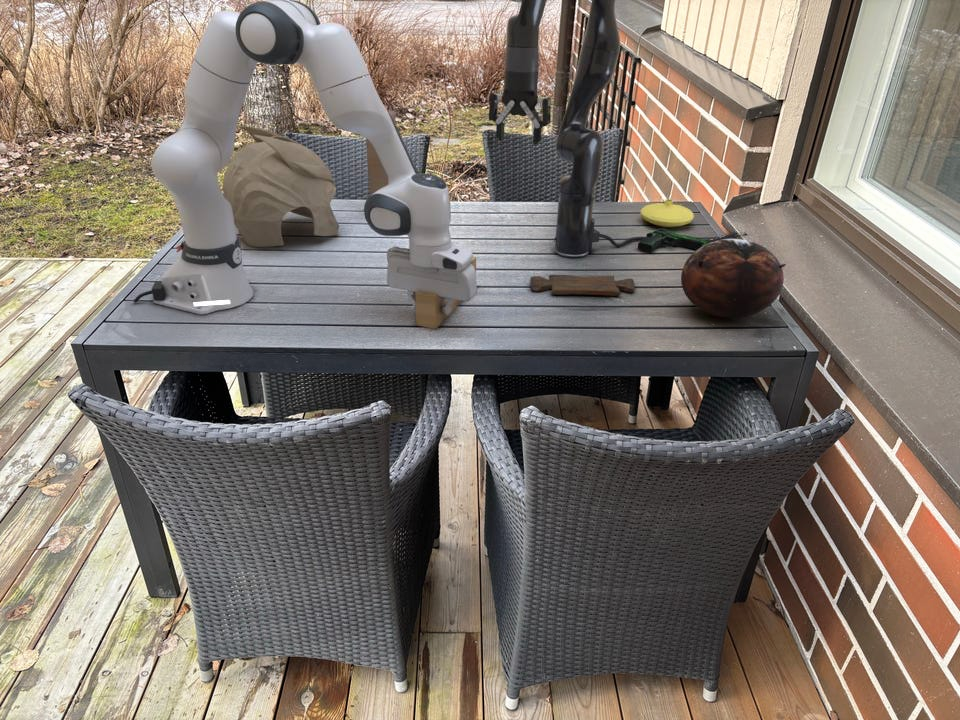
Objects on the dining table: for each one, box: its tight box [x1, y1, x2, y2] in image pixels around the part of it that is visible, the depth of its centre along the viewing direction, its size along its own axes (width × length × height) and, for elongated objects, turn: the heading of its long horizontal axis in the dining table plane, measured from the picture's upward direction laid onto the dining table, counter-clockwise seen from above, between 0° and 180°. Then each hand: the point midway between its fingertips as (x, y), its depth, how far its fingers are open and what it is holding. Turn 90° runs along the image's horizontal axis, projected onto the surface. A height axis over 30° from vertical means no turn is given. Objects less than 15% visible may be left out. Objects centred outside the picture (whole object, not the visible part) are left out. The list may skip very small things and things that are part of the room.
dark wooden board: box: [529, 274, 635, 297], centre depth 175 cm, size 26×2×10 cm
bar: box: [415, 256, 477, 330], centre depth 165 cm, size 24×5×8 cm, turn 159°
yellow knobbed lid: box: [640, 198, 695, 228], centre depth 215 cm, size 16×16×7 cm
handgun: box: [637, 227, 709, 254], centre depth 199 cm, size 16×3×15 cm
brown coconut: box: [680, 238, 787, 319], centre depth 162 cm, size 22×18×20 cm
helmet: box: [222, 125, 340, 248], centre depth 196 cm, size 27×30×30 cm
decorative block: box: [365, 110, 397, 197], centre depth 212 cm, size 8×15×30 cm, turn 82°
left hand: (431, 310), depth 158 cm, fingers open, 5 cm apart
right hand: (518, 142), depth 167 cm, fingers open, 8 cm apart
